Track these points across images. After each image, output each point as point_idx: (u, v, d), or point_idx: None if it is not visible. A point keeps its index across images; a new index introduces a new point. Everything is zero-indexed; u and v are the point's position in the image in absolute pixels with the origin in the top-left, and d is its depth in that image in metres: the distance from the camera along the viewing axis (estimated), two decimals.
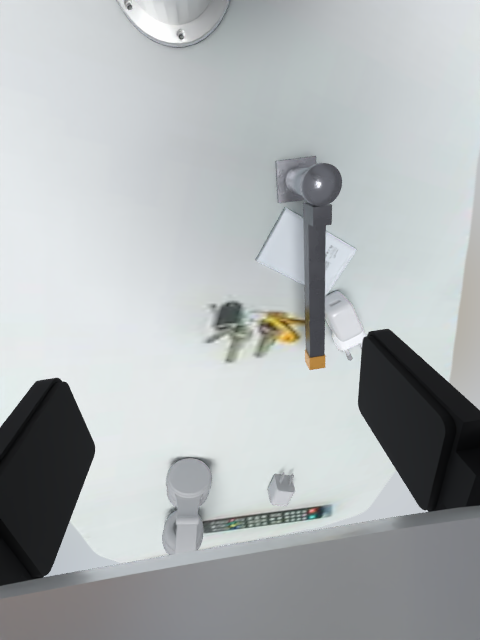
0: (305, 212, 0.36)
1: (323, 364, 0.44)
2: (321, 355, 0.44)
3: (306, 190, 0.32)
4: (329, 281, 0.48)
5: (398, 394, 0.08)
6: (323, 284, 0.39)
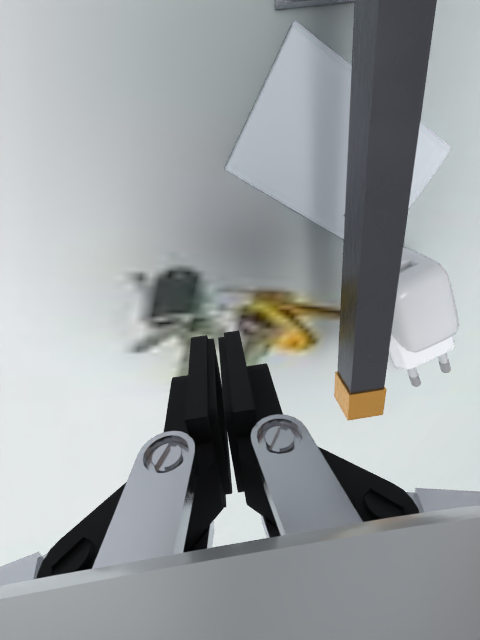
0: None
1: (379, 408, 0.19)
2: (377, 388, 0.19)
3: None
4: None
5: None
6: (405, 199, 0.14)
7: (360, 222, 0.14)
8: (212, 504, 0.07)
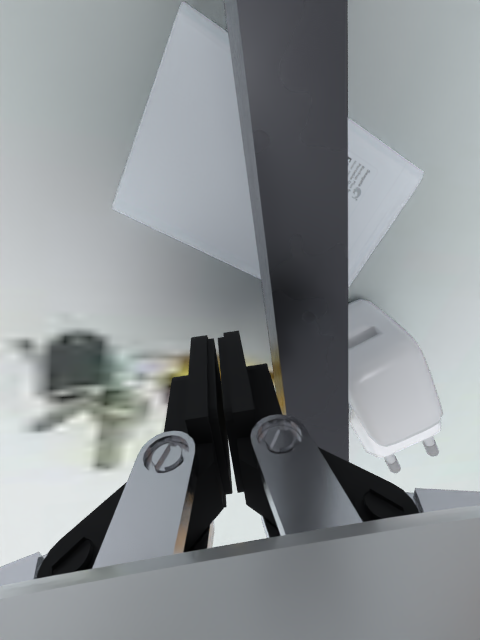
0: None
1: None
2: None
3: None
4: None
5: None
6: (340, 275, 0.08)
7: (272, 311, 0.09)
8: (212, 504, 0.07)
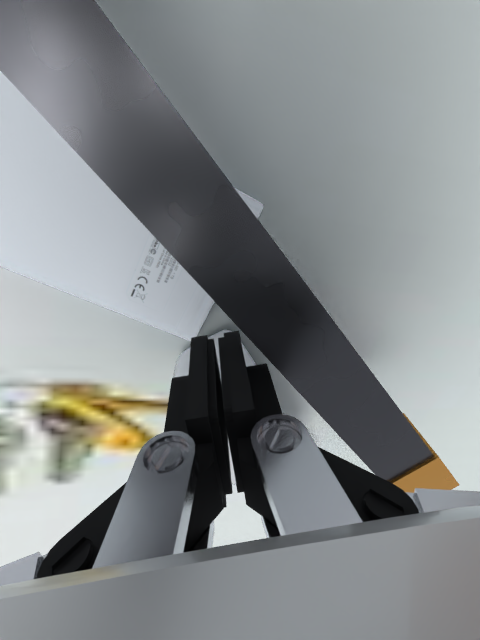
0: None
1: (447, 480, 0.12)
2: (424, 460, 0.11)
3: None
4: (194, 303, 0.16)
5: None
6: (245, 218, 0.07)
7: None
8: (212, 504, 0.07)
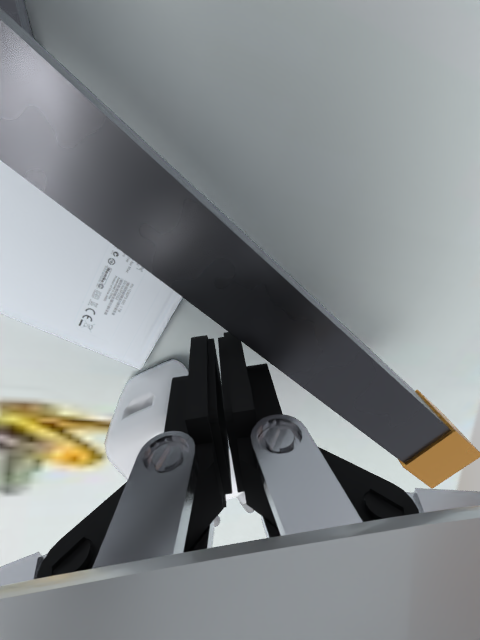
0: None
1: (469, 452, 0.11)
2: (441, 434, 0.11)
3: None
4: (141, 334, 0.17)
5: None
6: (215, 227, 0.07)
7: None
8: (212, 504, 0.07)
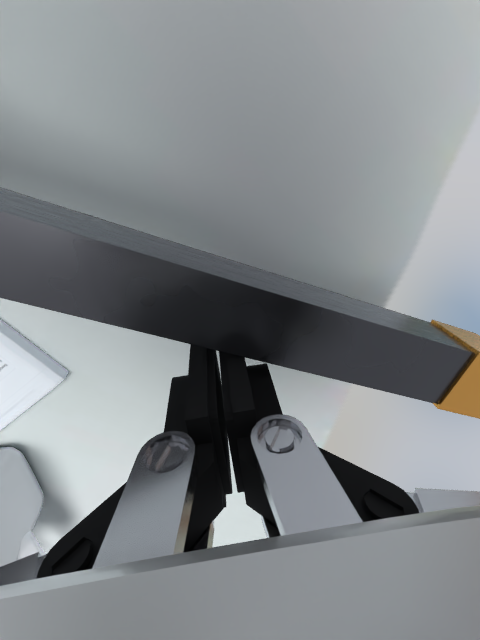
0: None
1: None
2: (467, 361, 0.10)
3: None
4: None
5: None
6: (112, 253, 0.07)
7: None
8: (212, 504, 0.07)
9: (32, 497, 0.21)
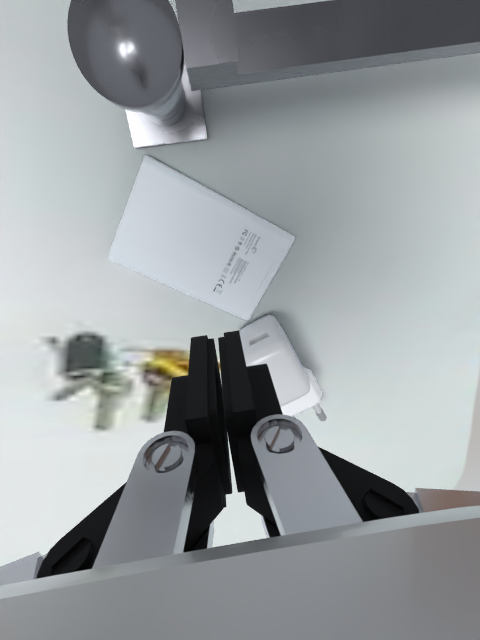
0: (210, 84, 0.15)
1: None
2: None
3: (145, 95, 0.12)
4: (250, 295, 0.27)
5: None
6: None
7: (419, 51, 0.14)
8: (212, 504, 0.07)
9: None
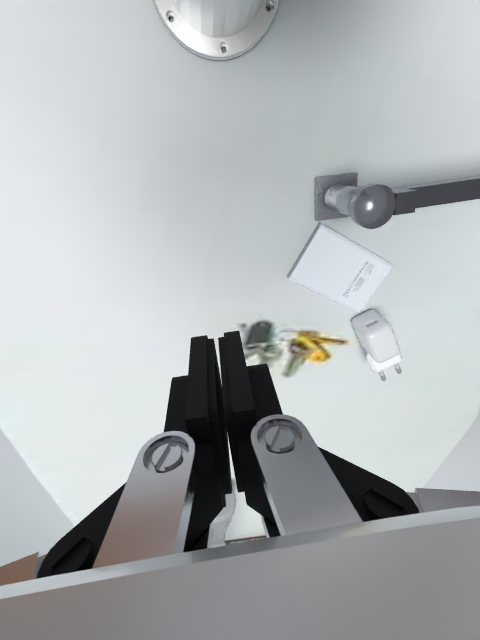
0: None
1: None
2: None
3: (377, 224, 0.31)
4: (363, 298, 0.46)
5: None
6: (478, 180, 0.32)
7: None
8: (212, 504, 0.07)
9: None
